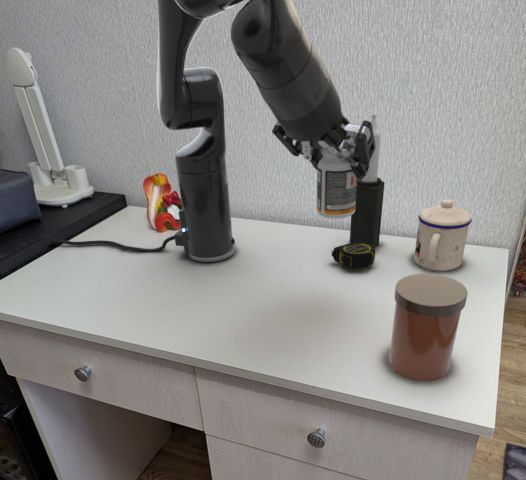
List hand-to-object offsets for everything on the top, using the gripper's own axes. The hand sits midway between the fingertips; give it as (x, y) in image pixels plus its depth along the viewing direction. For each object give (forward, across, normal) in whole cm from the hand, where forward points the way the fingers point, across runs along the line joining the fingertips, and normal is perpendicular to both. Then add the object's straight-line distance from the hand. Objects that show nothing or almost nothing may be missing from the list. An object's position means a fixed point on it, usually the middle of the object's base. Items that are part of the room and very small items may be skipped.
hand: (343, 170), depth 71 cm
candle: (+31, +6, -1) cm, 32 cm away
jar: (+9, -18, +22) cm, 30 cm away
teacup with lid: (+30, -9, 0) cm, 32 cm away
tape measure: (+25, +4, +6) cm, 26 cm away
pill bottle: (+3, 0, +6) cm, 6 cm away
